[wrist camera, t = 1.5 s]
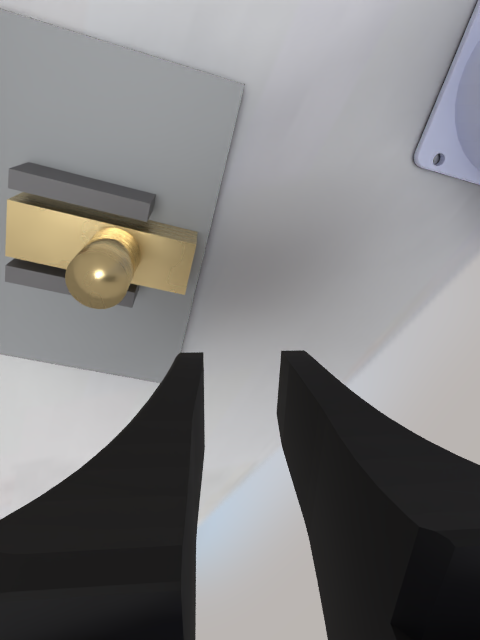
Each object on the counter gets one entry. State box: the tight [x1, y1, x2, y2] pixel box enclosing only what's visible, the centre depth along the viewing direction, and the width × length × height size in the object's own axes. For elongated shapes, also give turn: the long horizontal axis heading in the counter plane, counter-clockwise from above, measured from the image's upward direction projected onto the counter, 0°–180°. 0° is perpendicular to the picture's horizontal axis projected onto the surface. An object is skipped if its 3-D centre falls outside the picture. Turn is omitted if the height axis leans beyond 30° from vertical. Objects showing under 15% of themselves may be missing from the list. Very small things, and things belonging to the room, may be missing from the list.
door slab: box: [0, 9, 245, 383], centre depth 18 cm, size 11×14×3 cm
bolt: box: [5, 192, 198, 309], centre depth 16 cm, size 7×2×5 cm, turn 75°
